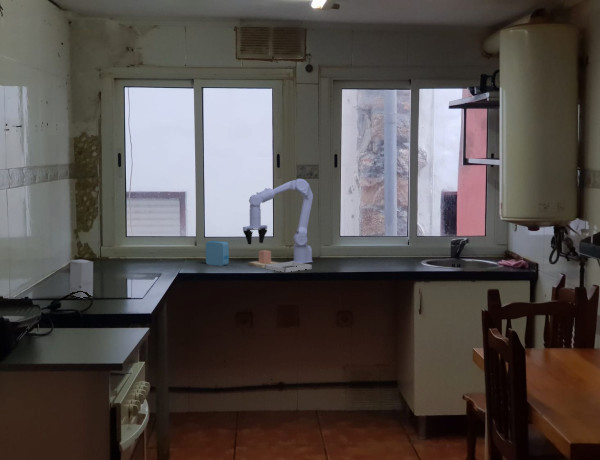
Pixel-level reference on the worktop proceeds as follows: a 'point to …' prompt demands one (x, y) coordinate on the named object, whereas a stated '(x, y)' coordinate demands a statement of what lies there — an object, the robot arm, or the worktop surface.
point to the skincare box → (81, 277)
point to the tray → (279, 267)
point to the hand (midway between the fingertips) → (255, 243)
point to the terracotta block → (264, 256)
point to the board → (260, 264)
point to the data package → (217, 253)
